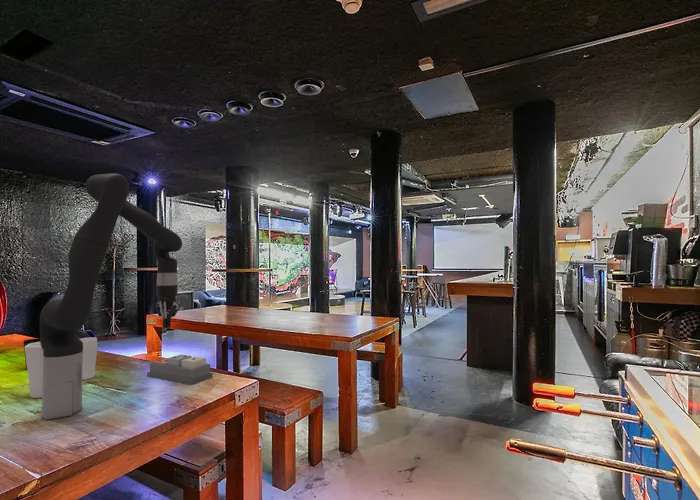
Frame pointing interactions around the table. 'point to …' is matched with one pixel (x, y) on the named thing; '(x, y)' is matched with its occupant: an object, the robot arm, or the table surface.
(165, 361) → the coral tile
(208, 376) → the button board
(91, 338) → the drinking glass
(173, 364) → the slate tile
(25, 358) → the cup
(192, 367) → the ivory tile
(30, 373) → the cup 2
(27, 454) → the table surface
